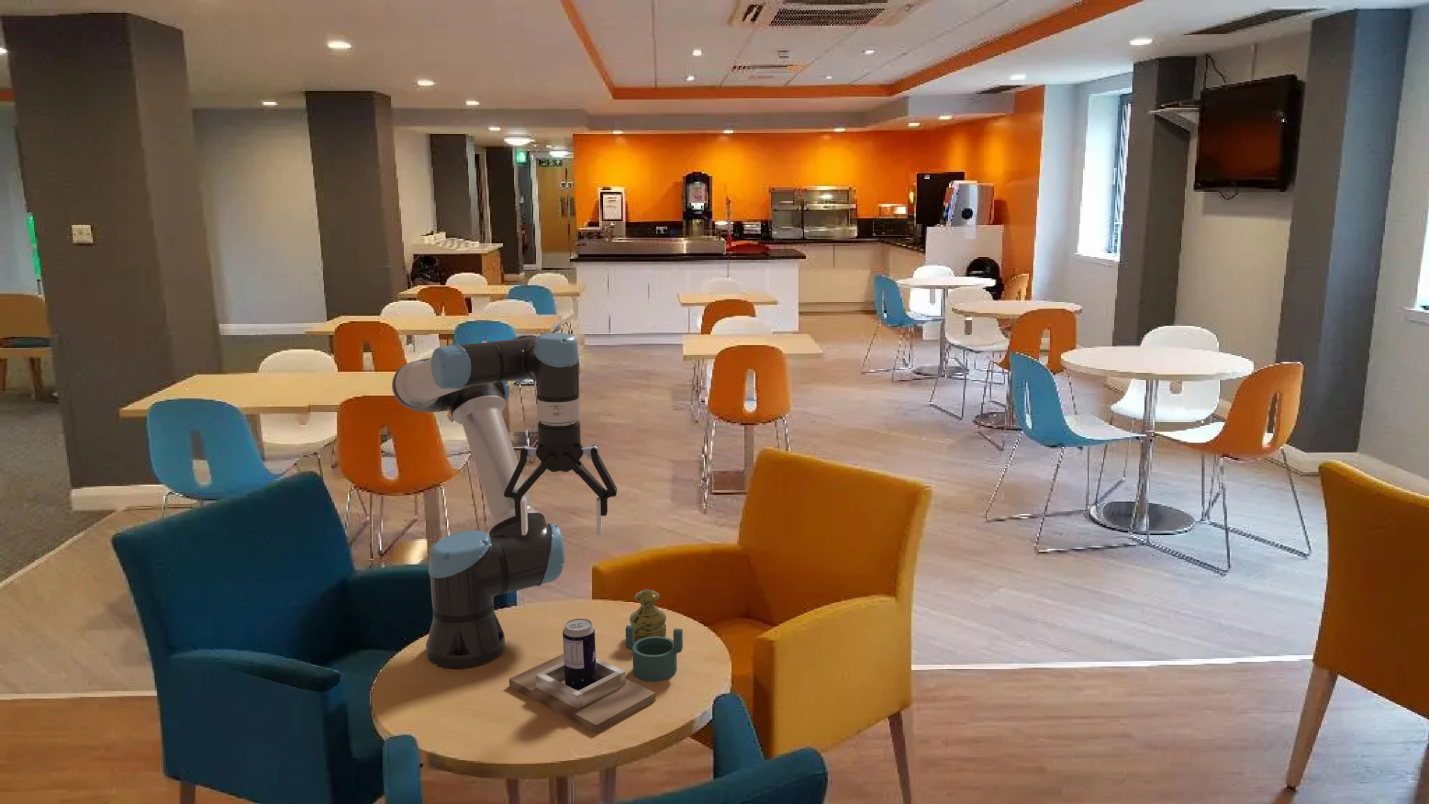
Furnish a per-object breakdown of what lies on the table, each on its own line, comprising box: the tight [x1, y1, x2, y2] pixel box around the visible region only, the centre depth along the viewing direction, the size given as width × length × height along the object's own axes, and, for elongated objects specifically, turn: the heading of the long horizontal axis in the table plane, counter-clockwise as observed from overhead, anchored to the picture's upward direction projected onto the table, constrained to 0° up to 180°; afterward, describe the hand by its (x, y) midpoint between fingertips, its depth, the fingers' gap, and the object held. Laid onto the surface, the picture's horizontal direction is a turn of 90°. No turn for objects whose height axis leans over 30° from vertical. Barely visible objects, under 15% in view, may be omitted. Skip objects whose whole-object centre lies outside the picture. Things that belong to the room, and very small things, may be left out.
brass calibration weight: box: [629, 588, 667, 642], centre depth 197 cm, size 7×7×10 cm
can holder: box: [508, 653, 657, 734], centre depth 175 cm, size 24×14×4 cm, turn 49°
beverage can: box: [562, 618, 597, 691], centre depth 174 cm, size 6×6×12 cm
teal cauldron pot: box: [625, 625, 684, 683], centre depth 183 cm, size 9×9×9 cm
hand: (562, 532), depth 178 cm, fingers open, 13 cm apart
